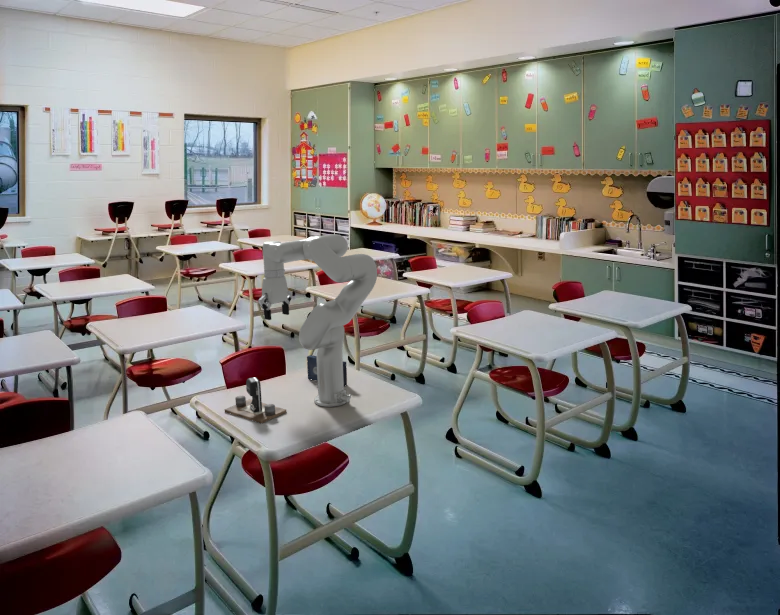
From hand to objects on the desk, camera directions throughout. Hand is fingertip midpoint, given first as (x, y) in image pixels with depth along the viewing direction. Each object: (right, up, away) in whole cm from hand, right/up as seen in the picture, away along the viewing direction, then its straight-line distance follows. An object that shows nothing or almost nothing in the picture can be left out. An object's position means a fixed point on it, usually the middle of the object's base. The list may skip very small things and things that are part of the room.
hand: (277, 316), depth 249 cm
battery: (-4, -33, -21) cm, 39 cm away
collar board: (-4, -34, -20) cm, 40 cm away
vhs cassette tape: (+19, -27, +9) cm, 34 cm away
